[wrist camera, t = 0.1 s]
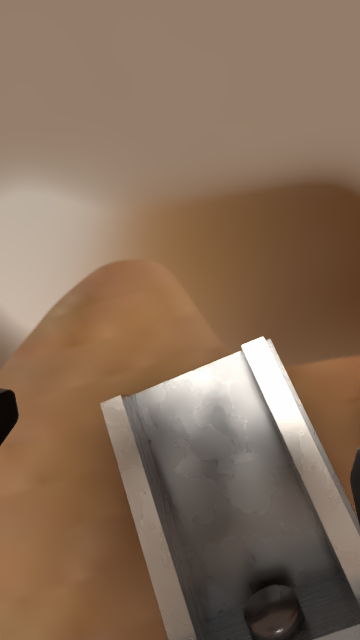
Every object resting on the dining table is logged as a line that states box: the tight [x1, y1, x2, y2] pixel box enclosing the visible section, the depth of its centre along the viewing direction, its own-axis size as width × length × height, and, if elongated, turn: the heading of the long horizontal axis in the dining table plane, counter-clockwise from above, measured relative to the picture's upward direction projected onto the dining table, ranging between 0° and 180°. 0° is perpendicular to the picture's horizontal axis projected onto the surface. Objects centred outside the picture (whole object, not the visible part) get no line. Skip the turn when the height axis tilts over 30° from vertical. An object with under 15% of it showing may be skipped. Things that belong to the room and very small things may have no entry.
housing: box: [100, 337, 360, 640], centre depth 18 cm, size 18×13×5 cm
